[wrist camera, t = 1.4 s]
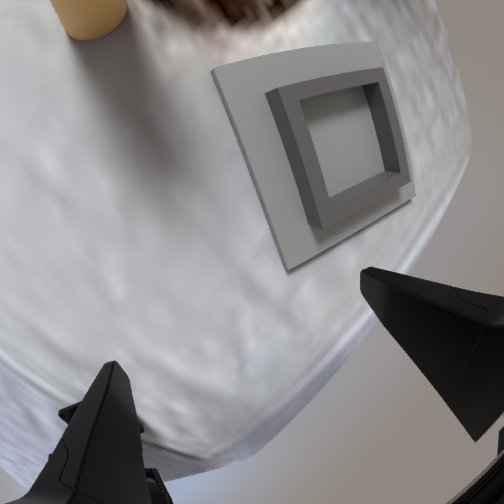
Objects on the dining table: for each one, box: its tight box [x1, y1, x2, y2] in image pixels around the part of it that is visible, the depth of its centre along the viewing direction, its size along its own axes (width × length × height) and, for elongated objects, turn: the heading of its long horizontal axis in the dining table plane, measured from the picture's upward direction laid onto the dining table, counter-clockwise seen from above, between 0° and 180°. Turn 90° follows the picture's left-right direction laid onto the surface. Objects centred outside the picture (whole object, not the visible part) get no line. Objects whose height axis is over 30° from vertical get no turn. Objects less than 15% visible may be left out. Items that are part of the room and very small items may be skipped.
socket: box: [211, 41, 416, 271], centre depth 21 cm, size 16×16×3 cm
